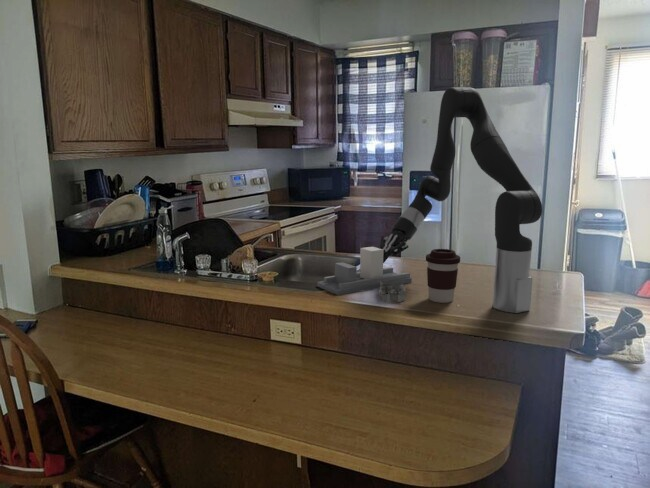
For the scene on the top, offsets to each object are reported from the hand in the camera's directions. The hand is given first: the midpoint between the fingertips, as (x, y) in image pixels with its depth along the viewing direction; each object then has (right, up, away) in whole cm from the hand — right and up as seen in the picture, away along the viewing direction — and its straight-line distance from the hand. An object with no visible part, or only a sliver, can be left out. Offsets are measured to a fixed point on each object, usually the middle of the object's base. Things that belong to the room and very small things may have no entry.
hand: (379, 262), depth 171 cm
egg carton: (+2, -11, -16) cm, 19 cm away
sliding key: (-3, -5, -1) cm, 6 cm away
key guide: (-5, -7, -2) cm, 9 cm away
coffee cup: (+16, -11, -19) cm, 27 cm away
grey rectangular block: (-11, -7, -6) cm, 14 cm away
